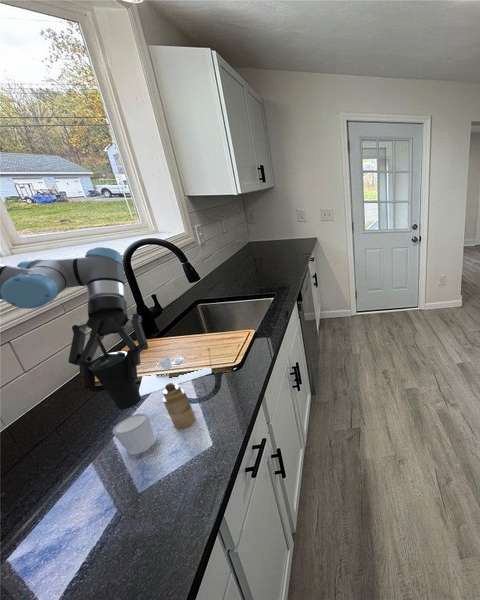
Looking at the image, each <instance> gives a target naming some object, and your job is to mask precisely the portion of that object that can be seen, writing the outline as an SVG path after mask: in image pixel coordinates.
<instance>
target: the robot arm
mask: <svg viewBox="0 0 480 600" xmlns="http://www.w3.org/2000/svg"><path fill="white" fill-rule="evenodd" d="M124 269H125V266H124V263H123V257H122V254H121V253H120V252H119V251H117V250H115V249H113V248H111V247H103V246H102V247H101V246H99V247H94V248H90V249H88V250H87V251H86V253H85V255H84V257H75V258H57V259H35V260H26V261H20V262H19V263H18V264H17V266H12V265H11V266H9V265H4V264H0V300H2V301H5V302H6V303H7V304H9V305H11V306H14V307H16V308H19V309H25V310H30V309H31V310H33V309H37V308H41V307H43V306H45V305H47V304H49V303H51V302H52V301H54V300H55V299H57V297H58V296H59V294H60V293H62V292H63V291H64V290H66V289H68V288H75V287H86V290H87V291H86V299H87V316H88V319H87V321H86V323H83V324H80V325H78V324H73V325H72V326H71V330H72V333H73V334H72V341H71V345H70V351H69V356H68V363H69V364H70V365H74V366H79V377H80V378H82V379H84V390H87V391H90V392H93V391H96V376H95V375H94V373H93V372H92V370H90V369H88V364H89V363H90V362H91V361H93V360H94V359H93V358H94V357H95V354H96V353H97V350H98V348H99V347H100V346H99V344H98V342H97V340H96V338H95V337H98V336H99V338H100V340H101V341H102V340H104V338H105V337H106V336H109V335H113V334H115V335H116V334H118V335H119V337H120V338H121V340H122V341H123V342H124V344H125V345H126V347H127V348H128V349H129V351H130V352H127V362H128V375H129V378H130V379H133V380H135V381H136V380H138V368H137V367H138V366H140V365H141V364H142V363H141V353H142V352H143V351H147V350H148V349H149V344H148V341H147V337H146V335H145V332H144V328H143V325H142V322H143V317H142V316H141V315H139V314H138V313H134V314H130V315H128V310H127V309H128V308H127V301H126V300H127V297H126V284H125V270H124ZM128 322H130V323H131V326H132V329H133V332H134V335H135V338H136V342H137V344H138V345H137V344H136V342H135V341H134V340H133V338H132V337H131V335H130V334H129V333H128V331H127V330H126V328H125V326H126V325H127V324H128ZM88 329H90V330H91V331H90V333H89V338H88V340H87V342H86V334H87V333H88ZM85 342H86V344H85Z"/></svg>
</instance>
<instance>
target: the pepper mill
mask: <svg viewBox="0 0 480 600" xmlns="http://www.w3.org/2000/svg"><path fill="white" fill-rule="evenodd" d="M162 394H163V397H162V402H163V404H164V406H165V408H166V411H167V413H168V415H169V418H170V420H171V422H172V425H173V426H174V428H175V429H176V428H177V430H183V429H186V428H188V427H191V425H193V424H194V423H195V422H196V420H197V417H196V415H195V413H194V409H193V407H192V405H191V403H190V401H189V398H188V396H187V393H186V391H185V390H184V389H182V388H181V387H180V385H179V384H176V385H174V384H173V383H169V384H167V385H166V387H165V388H164V389H162Z"/></svg>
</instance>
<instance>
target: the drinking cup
mask: <svg viewBox="0 0 480 600" xmlns="http://www.w3.org/2000/svg"><path fill="white" fill-rule="evenodd" d="M95 338H96V340H97V342H98V344H99V346H98V347H99V348H100V350H101V353H102V355H100V356H98V357H96V358H95V359H92V361H91V362H90V363H89V364H88V369H90V370H92V372H93V373H94V375H95V378H96V380H98V382H99V383H100V385H101V386H102V387H103V389H104V391H106V393H107V395H108V396H109V397H110V399H111V400H112V402H113V403H114V404H115V406H116V407H117V409H118V410H120V411H121V410H127V409H131V408H133V407H134V406H137V405H138V404H139V403H140V402H141V400H142V396H140V393H139V387H138V385H137V381H136V380H133V379H130V378H129V375H128V362H127V353H128V351H123V350H120V351H112V352H108V351H107V350H106V348H105V346H104V343H103V342H102V340H100V338H99V336H98V337H95Z"/></svg>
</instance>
